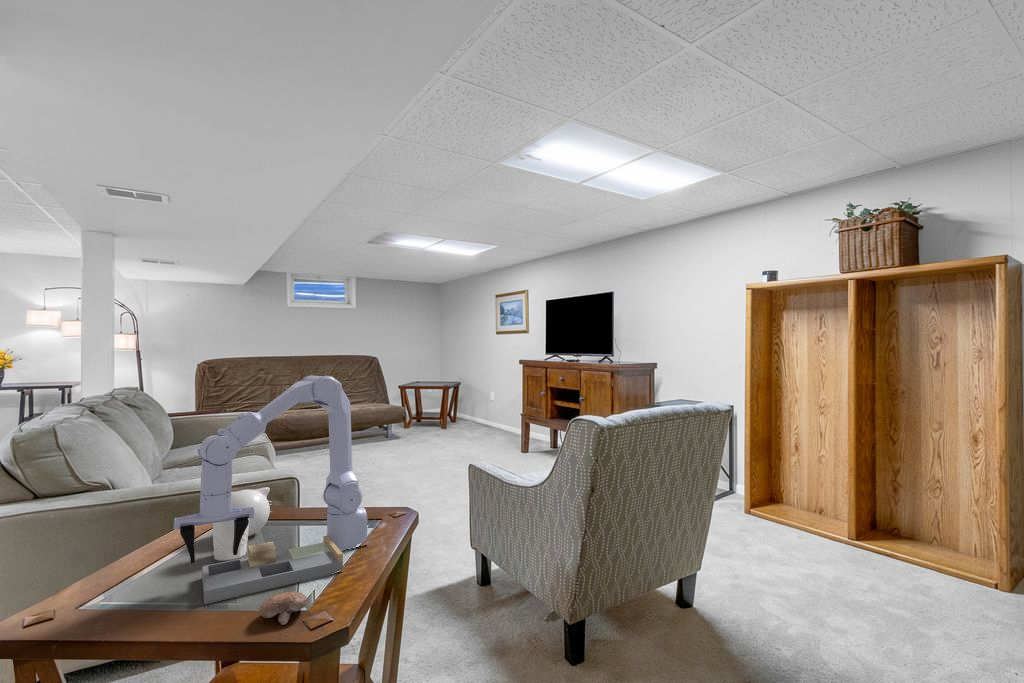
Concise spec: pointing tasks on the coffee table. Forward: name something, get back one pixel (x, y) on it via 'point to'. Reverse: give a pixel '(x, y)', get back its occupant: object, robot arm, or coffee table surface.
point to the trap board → (270, 571)
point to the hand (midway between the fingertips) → (214, 557)
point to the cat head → (253, 500)
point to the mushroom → (283, 605)
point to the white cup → (227, 541)
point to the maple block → (261, 554)
